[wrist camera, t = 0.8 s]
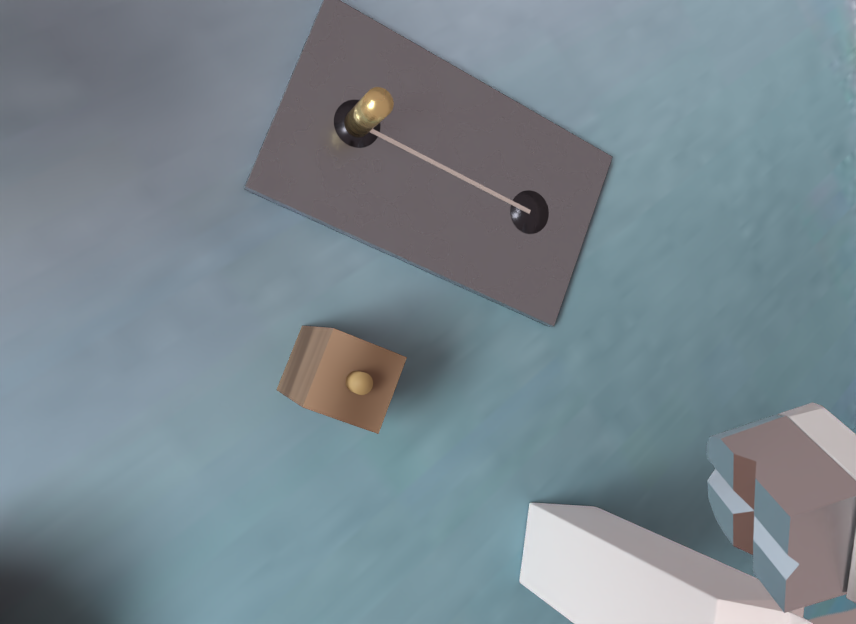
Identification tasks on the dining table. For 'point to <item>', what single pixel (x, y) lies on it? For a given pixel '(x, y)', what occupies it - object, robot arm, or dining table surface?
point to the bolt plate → (429, 165)
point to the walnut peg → (341, 376)
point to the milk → (634, 574)
